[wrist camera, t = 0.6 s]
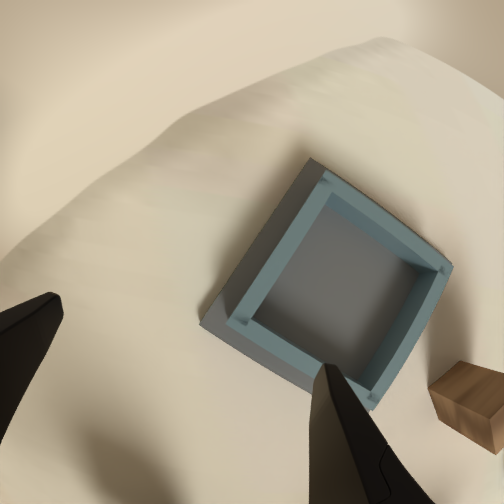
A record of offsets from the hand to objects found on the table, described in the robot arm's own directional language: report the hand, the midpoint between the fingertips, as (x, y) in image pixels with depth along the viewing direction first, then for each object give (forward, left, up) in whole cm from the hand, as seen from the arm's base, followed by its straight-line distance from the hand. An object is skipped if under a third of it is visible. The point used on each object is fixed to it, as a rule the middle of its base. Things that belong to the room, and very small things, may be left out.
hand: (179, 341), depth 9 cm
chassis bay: (-4, -9, -15) cm, 18 cm away
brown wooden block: (-19, -15, -15) cm, 28 cm away
